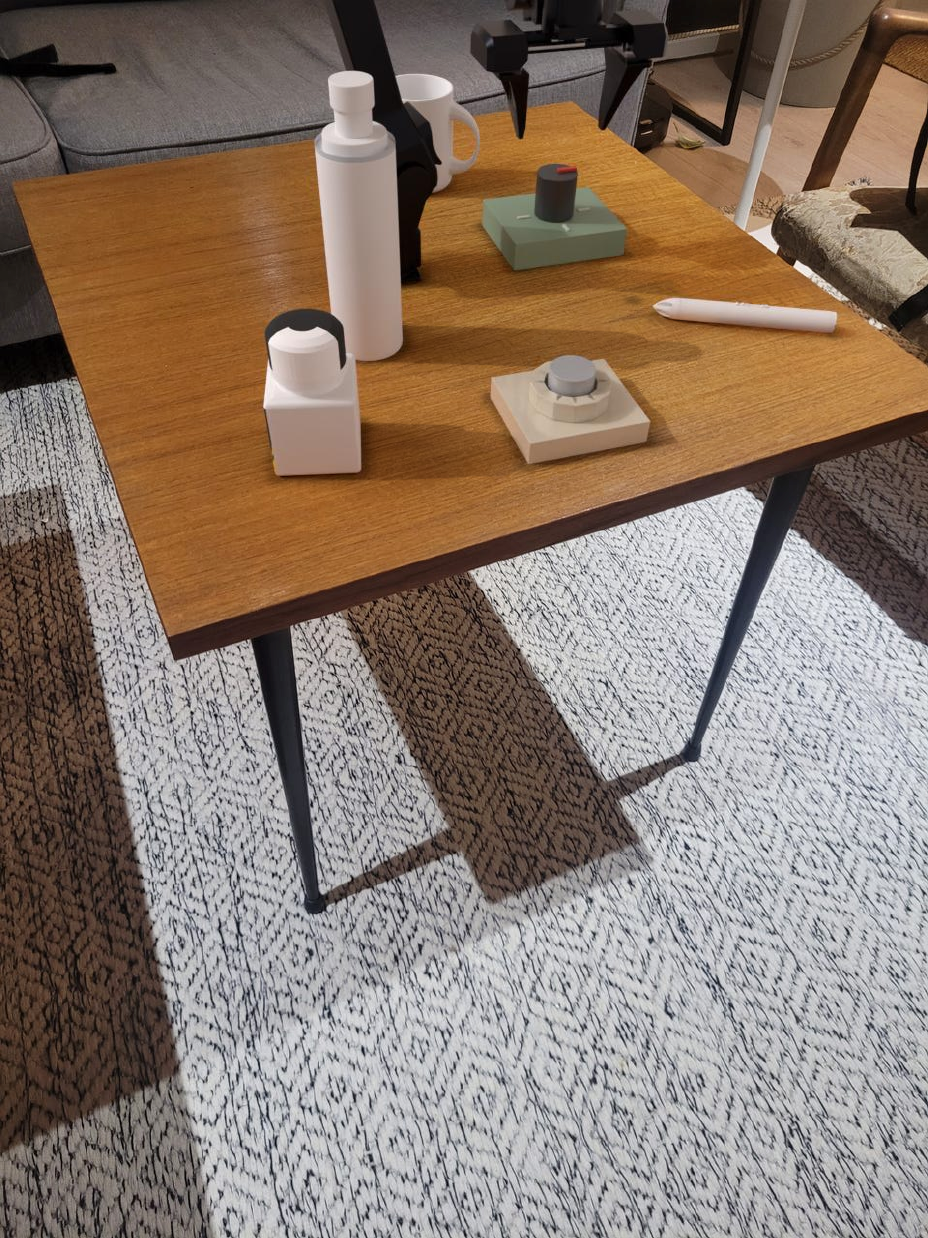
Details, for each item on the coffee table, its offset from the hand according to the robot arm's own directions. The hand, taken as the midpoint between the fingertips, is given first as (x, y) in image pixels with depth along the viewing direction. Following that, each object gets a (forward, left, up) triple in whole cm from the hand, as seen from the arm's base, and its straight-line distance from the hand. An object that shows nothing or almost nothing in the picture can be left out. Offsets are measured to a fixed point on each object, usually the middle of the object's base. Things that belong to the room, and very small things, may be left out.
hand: (560, 133), depth 96 cm
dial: (0, 0, -8) cm, 8 cm away
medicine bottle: (-33, -30, -12) cm, 46 cm away
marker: (+12, -22, -12) cm, 28 cm away
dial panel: (0, 0, -12) cm, 12 cm away
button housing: (-11, -32, -12) cm, 36 cm away
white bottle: (-25, -15, -12) cm, 31 cm away
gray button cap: (-11, -32, -8) cm, 35 cm away
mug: (-9, +18, -12) cm, 23 cm away
